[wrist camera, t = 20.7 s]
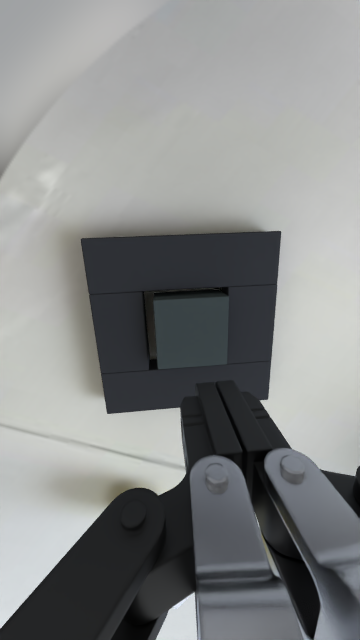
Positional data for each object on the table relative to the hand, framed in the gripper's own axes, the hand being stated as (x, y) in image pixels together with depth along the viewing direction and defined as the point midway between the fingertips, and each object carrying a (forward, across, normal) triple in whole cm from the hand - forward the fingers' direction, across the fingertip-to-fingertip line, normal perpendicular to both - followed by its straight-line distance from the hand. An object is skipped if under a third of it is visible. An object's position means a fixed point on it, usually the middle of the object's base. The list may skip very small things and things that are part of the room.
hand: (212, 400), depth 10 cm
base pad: (+11, 0, 0) cm, 11 cm away
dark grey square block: (+11, 0, 0) cm, 11 cm away
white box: (+11, +3, +34) cm, 36 cm away
